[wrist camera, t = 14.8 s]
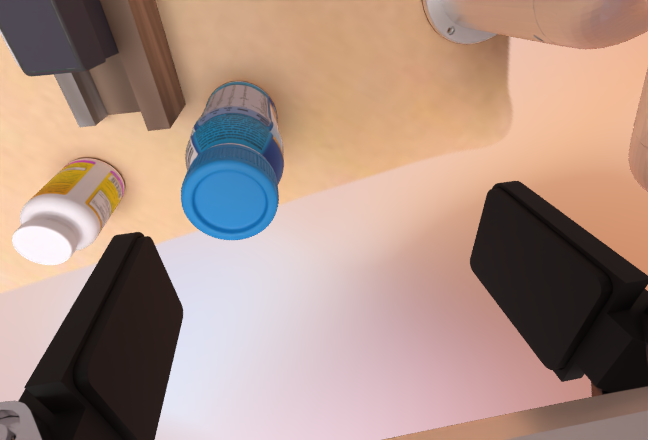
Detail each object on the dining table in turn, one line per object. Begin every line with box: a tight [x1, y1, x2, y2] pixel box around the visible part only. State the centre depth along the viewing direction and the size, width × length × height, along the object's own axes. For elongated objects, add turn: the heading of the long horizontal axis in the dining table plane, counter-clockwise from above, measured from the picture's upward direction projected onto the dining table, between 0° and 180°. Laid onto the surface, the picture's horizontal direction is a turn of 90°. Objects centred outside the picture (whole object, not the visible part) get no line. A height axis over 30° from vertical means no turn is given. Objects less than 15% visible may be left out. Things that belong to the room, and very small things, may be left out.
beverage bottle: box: [181, 81, 284, 240], centre depth 31 cm, size 8×8×20 cm
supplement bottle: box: [12, 158, 125, 265], centre depth 36 cm, size 7×7×13 cm
